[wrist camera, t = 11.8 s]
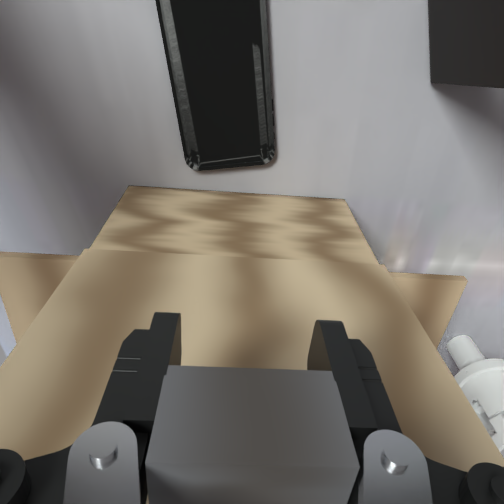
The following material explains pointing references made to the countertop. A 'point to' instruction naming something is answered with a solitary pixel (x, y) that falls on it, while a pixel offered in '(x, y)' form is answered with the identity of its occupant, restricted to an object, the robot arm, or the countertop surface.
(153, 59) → the countertop surface
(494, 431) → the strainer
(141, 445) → the robot arm
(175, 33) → the phone
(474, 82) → the phone stand
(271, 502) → the lid flap
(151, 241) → the carton
